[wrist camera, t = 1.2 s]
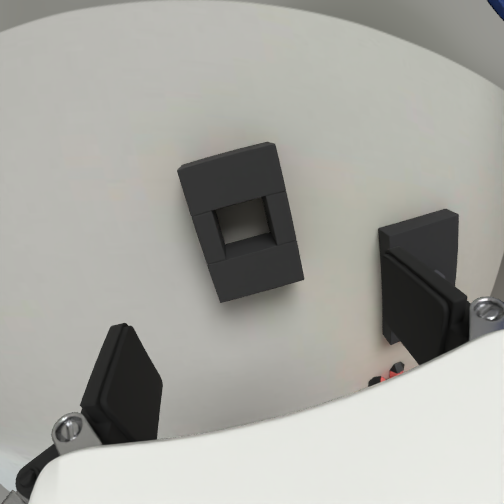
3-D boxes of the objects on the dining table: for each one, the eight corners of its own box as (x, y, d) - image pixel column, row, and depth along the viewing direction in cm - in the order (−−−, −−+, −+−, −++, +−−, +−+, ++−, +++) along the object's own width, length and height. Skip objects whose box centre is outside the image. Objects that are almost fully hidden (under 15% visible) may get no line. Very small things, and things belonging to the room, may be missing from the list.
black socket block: (181, 165, 22) (176, 170, 19) (267, 141, 22) (275, 143, 19) (219, 284, 26) (220, 303, 23) (294, 263, 26) (304, 279, 23)
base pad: (377, 228, 25) (398, 242, 22) (445, 208, 25) (469, 219, 22) (382, 334, 30) (397, 354, 27) (441, 309, 30) (458, 326, 27)
